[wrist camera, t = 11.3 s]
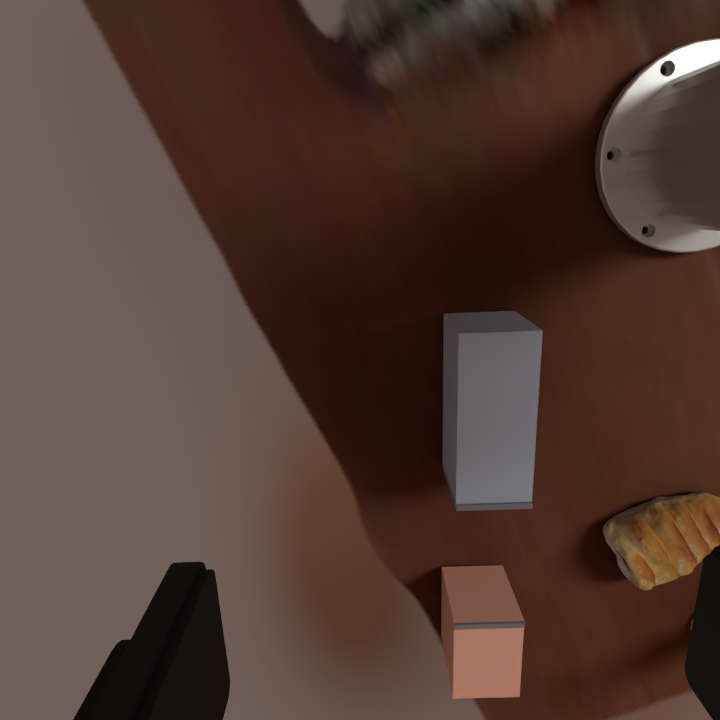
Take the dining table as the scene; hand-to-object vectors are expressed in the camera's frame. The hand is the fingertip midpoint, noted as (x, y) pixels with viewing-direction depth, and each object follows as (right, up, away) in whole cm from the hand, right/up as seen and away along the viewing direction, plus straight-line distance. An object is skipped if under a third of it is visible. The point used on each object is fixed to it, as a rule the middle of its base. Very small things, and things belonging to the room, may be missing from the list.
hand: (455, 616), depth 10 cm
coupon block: (+7, +3, +29) cm, 30 cm away
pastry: (+22, -9, +33) cm, 40 cm away
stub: (+8, -15, +34) cm, 38 cm away
